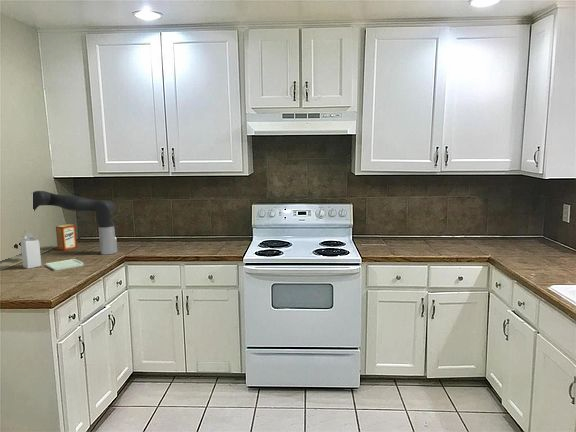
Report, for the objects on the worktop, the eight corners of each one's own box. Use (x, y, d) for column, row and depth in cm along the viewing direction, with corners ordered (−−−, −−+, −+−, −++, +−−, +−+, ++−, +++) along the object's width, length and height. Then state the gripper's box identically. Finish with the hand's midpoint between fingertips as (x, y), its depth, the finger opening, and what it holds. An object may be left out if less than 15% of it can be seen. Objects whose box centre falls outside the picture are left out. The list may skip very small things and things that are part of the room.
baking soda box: (64, 250, 293) (61, 226, 291) (57, 249, 296) (55, 225, 294) (76, 247, 301) (75, 224, 299) (70, 246, 304) (68, 223, 302)
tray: (74, 260, 265) (74, 258, 265) (84, 265, 254) (84, 263, 254) (45, 265, 254) (45, 263, 254) (54, 270, 243) (53, 268, 243)
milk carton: (36, 264, 257) (33, 232, 255) (41, 266, 253) (38, 233, 250) (22, 267, 252) (19, 234, 249) (28, 269, 248) (24, 235, 245)
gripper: (4, 237, 265) (10, 241, 253) (30, 234, 275) (38, 237, 263) (5, 249, 266) (12, 254, 254) (32, 245, 276) (39, 249, 264)
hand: (25, 245), depth 259 cm, fingers open, 8 cm apart
